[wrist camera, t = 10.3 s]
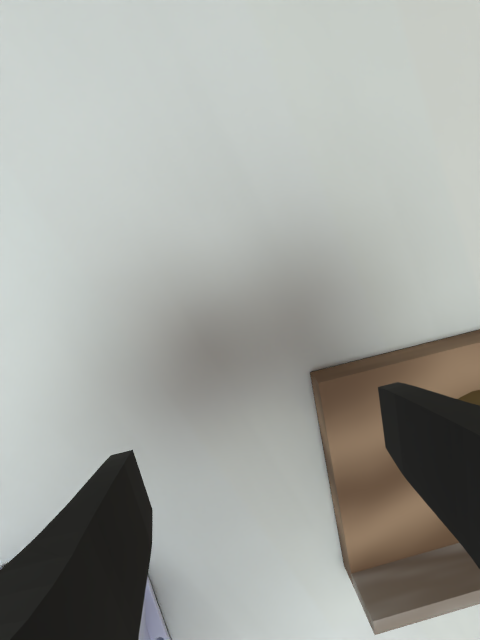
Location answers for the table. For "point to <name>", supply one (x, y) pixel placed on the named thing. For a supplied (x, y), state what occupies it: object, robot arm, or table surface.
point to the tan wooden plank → (393, 486)
